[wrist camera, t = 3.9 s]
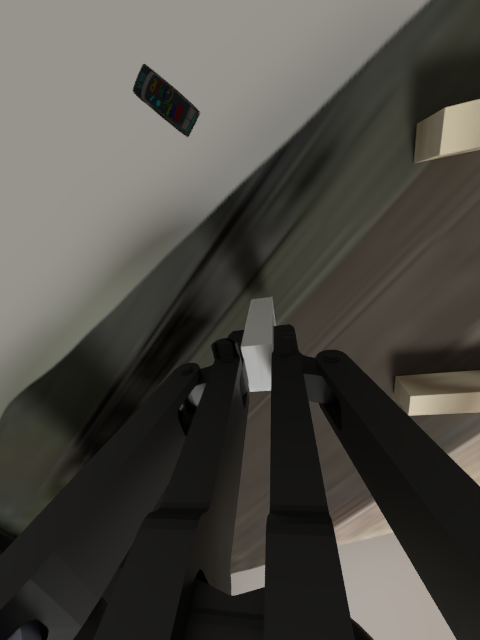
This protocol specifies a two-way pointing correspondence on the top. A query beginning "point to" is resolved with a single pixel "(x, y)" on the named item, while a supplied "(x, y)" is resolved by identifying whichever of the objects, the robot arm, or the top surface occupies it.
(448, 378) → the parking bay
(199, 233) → the top surface
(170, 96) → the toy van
